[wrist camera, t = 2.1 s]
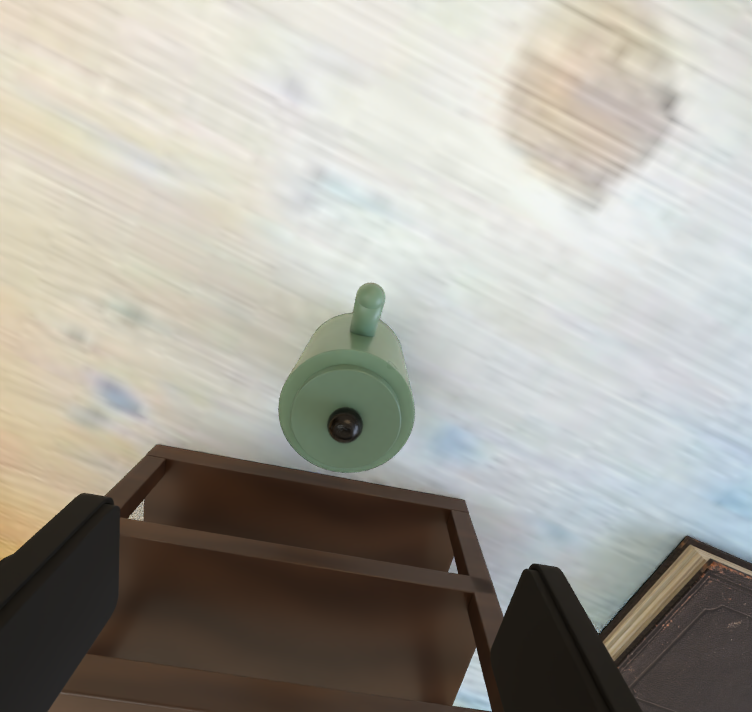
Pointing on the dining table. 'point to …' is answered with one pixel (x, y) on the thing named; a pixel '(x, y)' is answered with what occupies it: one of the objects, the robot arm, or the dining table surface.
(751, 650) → the hardcover book
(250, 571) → the stand
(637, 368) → the dining table surface
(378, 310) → the kettle
